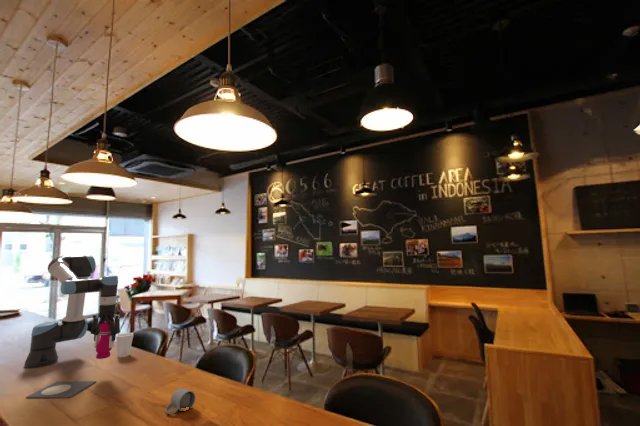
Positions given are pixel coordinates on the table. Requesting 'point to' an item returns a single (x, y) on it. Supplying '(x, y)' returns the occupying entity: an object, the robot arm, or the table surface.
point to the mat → (62, 389)
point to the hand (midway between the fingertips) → (104, 347)
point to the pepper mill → (103, 341)
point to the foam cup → (124, 344)
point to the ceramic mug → (181, 400)
